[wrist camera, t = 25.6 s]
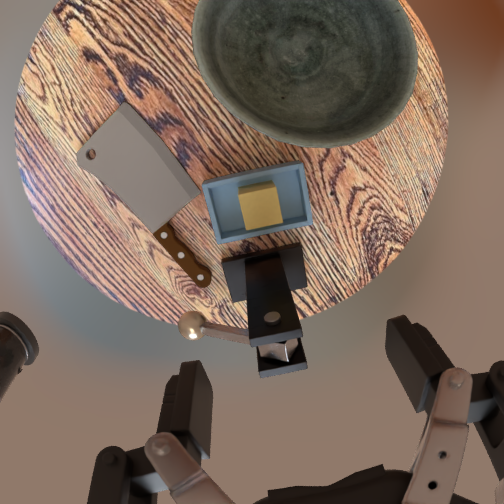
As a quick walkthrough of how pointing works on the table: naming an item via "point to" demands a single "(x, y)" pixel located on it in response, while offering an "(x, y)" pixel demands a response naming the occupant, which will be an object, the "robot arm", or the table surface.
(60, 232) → the table surface
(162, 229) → the kitchen cleaver
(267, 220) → the butter pat
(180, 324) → the cutter lever
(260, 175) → the butter dish
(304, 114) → the bowl
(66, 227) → the table surface
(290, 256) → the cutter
